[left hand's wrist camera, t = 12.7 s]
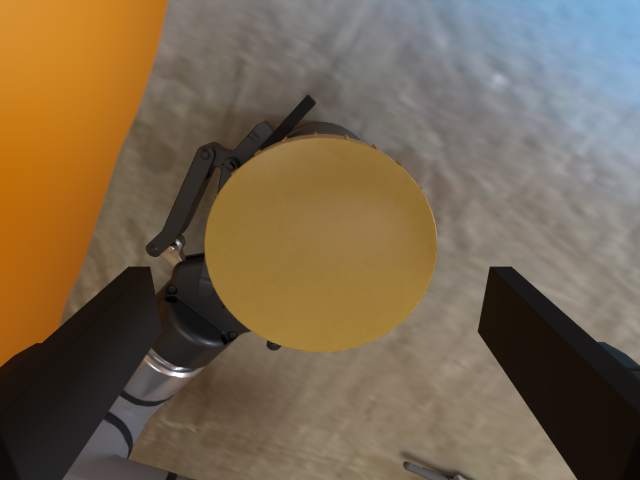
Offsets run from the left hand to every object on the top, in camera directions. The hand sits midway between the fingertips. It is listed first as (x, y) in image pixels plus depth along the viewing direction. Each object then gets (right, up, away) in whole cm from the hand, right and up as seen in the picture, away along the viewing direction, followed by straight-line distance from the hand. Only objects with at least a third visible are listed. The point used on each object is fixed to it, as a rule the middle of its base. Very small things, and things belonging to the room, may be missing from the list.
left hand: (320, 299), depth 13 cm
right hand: (+3, +8, +13) cm, 16 cm away
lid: (0, +1, +4) cm, 4 cm away
